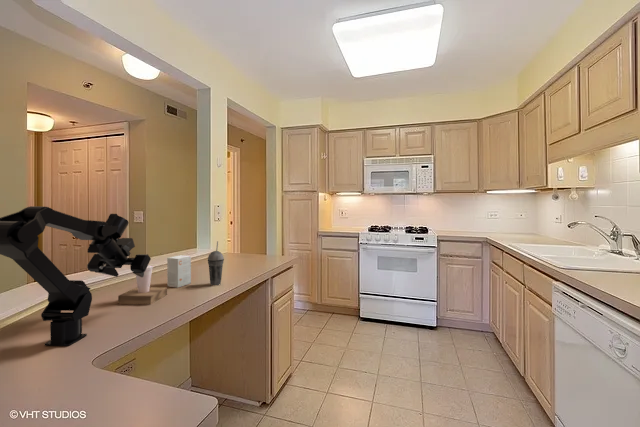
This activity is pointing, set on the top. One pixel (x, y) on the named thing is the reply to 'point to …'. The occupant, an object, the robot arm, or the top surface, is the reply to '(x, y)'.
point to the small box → (178, 271)
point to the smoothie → (144, 280)
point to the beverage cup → (215, 266)
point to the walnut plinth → (142, 296)
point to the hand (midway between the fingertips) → (130, 275)
